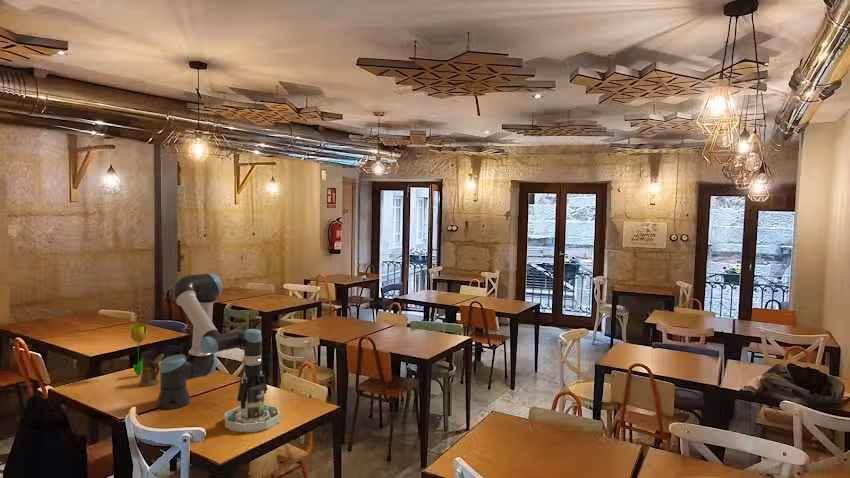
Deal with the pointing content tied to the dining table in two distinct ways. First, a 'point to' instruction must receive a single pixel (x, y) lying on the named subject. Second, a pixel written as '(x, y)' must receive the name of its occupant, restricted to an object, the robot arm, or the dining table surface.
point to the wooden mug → (151, 372)
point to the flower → (138, 336)
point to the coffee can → (254, 402)
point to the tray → (242, 425)
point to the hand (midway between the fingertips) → (252, 411)
